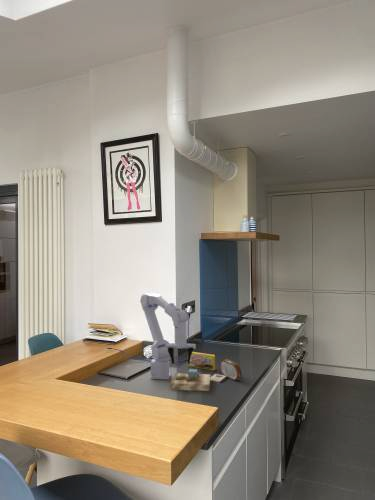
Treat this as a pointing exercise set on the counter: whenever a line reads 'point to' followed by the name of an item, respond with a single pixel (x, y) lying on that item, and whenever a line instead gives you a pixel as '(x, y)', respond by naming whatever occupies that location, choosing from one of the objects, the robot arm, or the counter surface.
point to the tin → (231, 369)
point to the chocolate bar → (218, 376)
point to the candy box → (202, 361)
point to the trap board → (191, 382)
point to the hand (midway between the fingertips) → (180, 363)
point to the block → (192, 373)
